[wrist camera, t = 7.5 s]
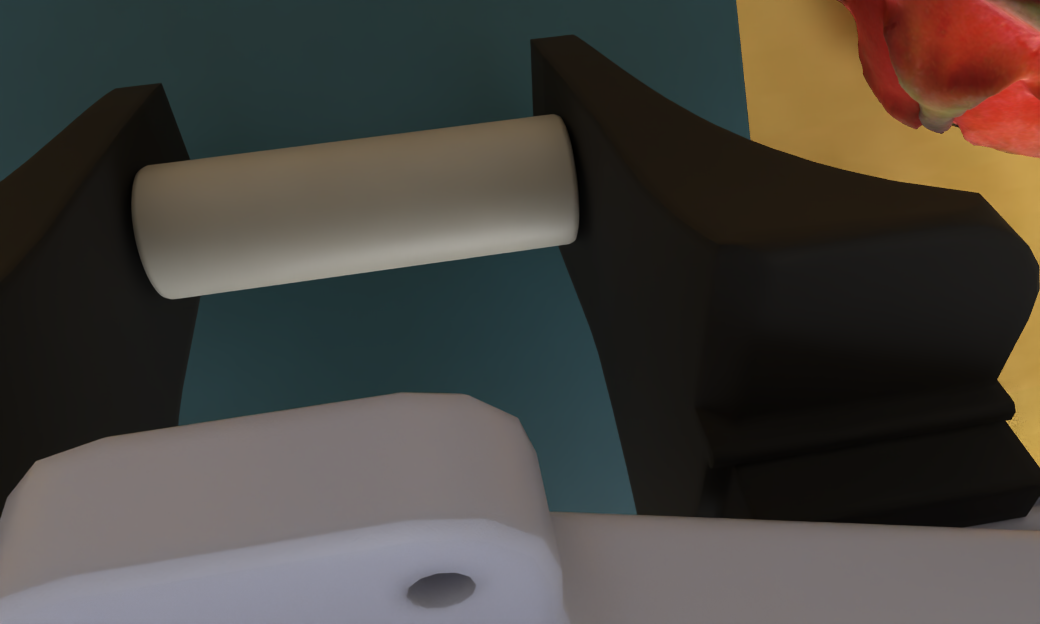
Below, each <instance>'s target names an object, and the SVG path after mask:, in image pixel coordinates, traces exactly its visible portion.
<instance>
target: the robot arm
mask: <svg viewBox="0 0 1040 624" xmlns="http://www.w3.org/2000/svg"><path fill="white" fill-rule="evenodd" d="M530 47H531V73H532V100H533V117H534V116H542V115H550V114H555V115H558V116H560V117H561V118H562V120H563V122H564V124H565V126H566V128H567V131H568V134H569V137H570V141H571V145H572V149H573V154H574V160H575V166H576V173H577V181H578V191H579V228H578V233H577V237H576V240H575V241H574V242H572V243H570V244H566V245H559V246H558V247H559V250H560V252H561V255H562V257H563V260H564V263H565V265H566V268H567V270H568V273H569V276H570V278H571V281H572V283H573V286H574V288H575V291H576V294H577V296H578V299H579V301H580V304H581V306H582V309H583V312H584V314H585V317H586V319H587V322H588V325H589V327H590V330H591V333H592V336H593V339H594V342H595V345H596V348H597V351H598V355H599V359H600V362H601V366H602V370H603V374H604V378H605V382H606V386H607V390H608V394H609V398H610V401H611V405H612V409H613V413H614V418H615V422H616V426H617V430H618V434H619V438H620V442H621V447H622V451H623V455H624V459H625V463H626V467H627V472H628V476H629V481H630V485H631V489H632V494H633V498H634V503H635V507H636V512H637V515H626V514H601V513H575V512H549V508H548V503H547V499H546V494H545V490H544V485H543V480H542V476H541V471H540V467H539V462H538V457H537V453H536V451H535V449H534V447H533V445H532V443H531V442H530V440H529V438H528V436H527V434H526V432H525V430H524V428H523V426H522V424H521V423H520V421H519V419H518V418H517V417H515V416H513V415H511V414H508V413H506V412H504V411H502V410H500V409H498V408H495V407H493V406H491V405H489V404H487V403H484V402H482V401H480V400H478V399H476V398H474V397H471V396H469V395H466V394H456V393H411V392H400V393H394V394H387V395H380V396H374V397H367V398H361V399H354V400H347V401H341V402H334V403H328V404H321V405H314V406H308V407H301V408H295V409H288V410H281V411H275V412H268V413H262V414H255V415H249V416H242V417H235V418H229V419H222V420H216V421H209V422H202V423H196V424H189V425H183V426H178V424H179V413H180V405H181V398H182V391H183V385H184V380H185V375H186V369H187V364H188V359H189V354H190V349H191V344H192V338H193V333H194V328H195V323H196V318H197V313H198V307H199V302H200V297H201V296H194V297H187V298H180V299H169V298H165V297H163V296H161V295H160V294H159V293H158V292H157V291H156V290H155V288H154V287H153V285H152V284H151V282H150V280H149V278H148V276H147V274H146V272H145V269H144V267H143V264H142V262H141V259H140V256H139V252H138V249H137V245H136V241H135V236H134V230H133V223H132V212H131V199H132V187H133V182H134V178H135V176H136V174H137V172H138V171H139V170H140V169H142V168H143V167H145V166H147V165H155V164H163V163H171V162H179V161H186V160H190V157H189V155H188V152H187V149H186V147H185V144H184V141H183V139H182V136H181V133H180V131H179V128H178V125H177V123H176V120H175V117H174V115H173V112H172V109H171V106H170V104H169V101H168V98H167V96H166V93H165V90H164V88H163V85H162V83H156V84H148V85H139V86H131V87H122V88H115V89H113V90H112V91H110V92H109V93H107V94H106V95H104V96H103V97H101V98H100V99H99V100H98V101H96V102H95V103H94V104H93V105H91V106H90V107H89V108H88V109H87V110H85V111H84V112H83V113H82V114H81V115H80V116H78V117H77V118H76V119H75V120H74V121H73V122H71V123H70V124H69V125H68V126H67V127H66V128H65V129H63V130H62V131H61V132H60V133H59V134H58V135H56V136H55V137H54V138H53V139H52V140H51V141H49V142H48V143H47V144H46V145H45V146H44V147H42V148H41V149H40V150H39V151H38V152H37V153H36V154H34V155H33V156H32V157H31V158H30V159H28V160H27V161H26V162H25V163H24V164H22V165H21V166H20V167H19V168H17V169H16V170H15V171H13V172H12V173H11V174H10V175H8V176H7V177H6V178H4V179H3V180H2V181H1V182H0V624H1040V468H1039V466H1038V465H1037V463H1036V462H1035V461H1034V459H1033V458H1032V457H1031V455H1030V454H1029V452H1028V451H1027V450H1026V448H1025V447H1024V446H1023V444H1022V443H1021V442H1020V440H1019V439H1018V437H1017V436H1016V435H1015V433H1014V432H1013V431H1012V429H1011V428H1010V426H1009V425H1008V424H1007V422H1006V420H1011V419H1012V417H1013V416H1014V414H1015V412H1016V410H1015V404H1014V402H1013V400H1012V399H1011V398H1010V396H1009V395H1008V394H1007V392H1006V391H1005V390H1004V388H1003V387H1002V386H1001V384H1000V383H999V382H998V380H997V378H998V377H999V375H1000V373H1001V371H1002V369H1003V367H1004V365H1005V363H1006V361H1007V359H1008V357H1009V355H1010V354H1011V352H1012V350H1013V348H1014V346H1015V344H1016V342H1017V340H1018V338H1019V336H1020V334H1021V333H1022V331H1023V329H1024V327H1025V325H1026V323H1027V321H1028V319H1029V317H1030V314H1031V312H1032V309H1033V306H1034V303H1035V300H1036V298H1037V295H1038V292H1039V289H1040V283H1039V264H1038V263H1037V261H1036V259H1035V257H1034V255H1033V253H1032V251H1031V249H1030V247H1029V246H1028V245H1027V244H1026V243H1025V242H1024V240H1023V239H1022V238H1021V237H1020V236H1019V235H1018V234H1017V233H1016V232H1015V231H1014V230H1013V229H1012V228H1011V226H1010V225H1009V224H1008V223H1007V222H1006V221H1005V220H1004V219H1003V218H1002V217H1001V216H1000V215H999V214H998V212H997V211H996V210H995V209H994V208H993V207H992V206H991V205H990V204H989V203H988V202H987V201H986V200H985V199H984V198H983V197H982V196H981V195H980V194H979V193H975V192H968V191H961V190H953V189H946V188H939V187H932V186H925V185H918V184H911V183H904V182H897V181H892V180H887V179H882V178H878V177H873V176H869V175H864V174H860V173H855V172H851V171H846V170H842V169H838V168H834V167H831V166H827V165H823V164H819V163H816V162H812V161H809V160H806V159H803V158H800V157H797V156H794V155H791V154H788V153H785V152H782V151H778V150H775V149H773V148H770V147H767V146H765V145H762V144H759V143H757V142H754V141H751V140H749V139H747V138H745V137H742V136H740V135H738V134H735V133H733V132H731V131H729V130H726V129H724V128H722V127H720V126H717V125H715V124H713V123H711V122H709V121H707V120H705V119H703V118H701V117H699V116H697V115H696V114H694V113H692V112H690V111H689V110H687V109H685V108H683V107H682V106H680V105H678V104H676V103H674V102H673V101H671V100H669V99H668V98H666V97H664V96H663V95H661V94H660V93H658V92H656V91H655V90H653V89H652V88H650V87H649V86H647V85H645V84H644V83H642V82H641V81H639V80H638V79H637V78H635V77H634V76H632V75H631V74H629V73H628V72H626V71H625V70H624V69H622V68H621V67H619V66H618V65H616V64H615V63H614V62H612V61H611V60H610V59H608V58H607V57H605V56H604V55H603V54H601V53H600V52H599V51H597V50H596V49H594V48H593V47H592V46H590V45H589V44H588V43H586V42H585V41H583V40H582V39H580V38H579V37H577V36H575V35H574V34H571V35H563V36H554V37H546V38H537V39H530Z"/></svg>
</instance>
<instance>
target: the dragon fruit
mask: <svg viewBox="0 0 1040 624" xmlns="http://www.w3.org/2000/svg"><path fill="white" fill-rule="evenodd" d="M837 1H839V2H841V3H842V4H843V5H844V6H845V7H846V8H847V9H848V10H849V11H850V12H851V14H852V15H853V17H854V19H855V21H856V25H857V32H858V50H859V58H860V61H861V64H862V67H863V75H864V77H865V79H866V81H867V83H868V85H869V86H870V88H871V89H872V91H873V93H874V94H875V96H876V97H877V99H878V100H879V102H880V103H881V104H882V105H883V107H884V108H885V110H886V111H887V112H888V113H889V114H890V115H891V116H892V117H893V118H895V119H896V120H898V121H900V122H901V123H903V124H905V125H907V126H909V127H911V128H914V129H918V128H919V127H920V126H921V125H923V126H924V127H926V128H927V129H929V130H931V131H934V132H937V133H940V134H942V133H944V131H947V130H948V129H949V128H950V127H951V125H952V126H955V127H959V128H960V129H961V132H962V134H963V137H964V139H965V140H967V141H968V142H970V143H971V144H973V145H979V146H985V147H991V148H994V149H996V150H999V151H1003V152H1006V153H1011V154H1017V155H1025V156H1030V157H1037V158H1040V0H837Z"/></svg>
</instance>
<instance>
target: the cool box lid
mask: <svg viewBox="0 0 1040 624" xmlns="http://www.w3.org/2000/svg"><path fill="white" fill-rule="evenodd" d="M571 34H574V35H575V36H577V37H579V38H580V39H582V40H583V41H585V42H586V43H588V44H589V45H590V46H592V47H593V48H594V49H596V50H597V51H599V52H600V53H601V54H603V55H604V56H605V57H607V58H608V59H610V60H611V61H612V62H614V63H615V64H616V65H618V66H619V67H621V68H622V69H624V70H625V71H626V72H628V73H629V74H631V75H632V76H634V77H635V78H637V79H638V80H639V81H641V82H642V83H644V84H645V85H647V86H649V87H650V88H652V89H653V90H655V91H656V92H658V93H660V94H661V95H663V96H664V97H666V98H668V99H669V100H671V101H673V102H674V103H676V104H678V105H680V106H682V107H683V108H685V109H687V110H689V111H690V112H692V113H694V114H696V115H697V116H699V117H701V118H703V119H705V120H707V121H709V122H711V123H713V124H715V125H717V126H720V127H722V128H724V129H726V130H729V131H731V132H733V133H735V134H738V135H740V136H742V137H745V138H747V139H749V140H750V131H749V122H748V112H747V102H746V92H745V83H744V73H743V63H742V54H741V44H740V34H739V24H738V15H737V5H736V0H0V182H1V181H2V180H3V179H4V178H6V177H7V176H8V175H10V174H11V173H12V172H13V171H15V170H16V169H17V168H19V167H20V166H21V165H22V164H24V163H25V162H26V161H27V160H28V159H30V158H31V157H32V156H33V155H34V154H36V153H37V152H38V151H39V150H40V149H41V148H42V147H44V146H45V145H46V144H47V143H48V142H49V141H51V140H52V139H53V138H54V137H55V136H56V135H58V134H59V133H60V132H61V131H62V130H63V129H65V128H66V127H67V126H68V125H69V124H70V123H71V122H73V121H74V120H75V119H76V118H77V117H78V116H80V115H81V114H82V113H83V112H84V111H85V110H87V109H88V108H89V107H90V106H91V105H93V104H94V103H95V102H96V101H98V100H99V99H100V98H101V97H103V96H104V95H106V94H107V93H109V92H110V91H112V90H113V89H115V88H122V87H131V86H139V85H148V84H156V83H162V85H163V88H164V90H165V93H166V96H167V98H168V101H169V104H170V106H171V109H172V112H173V115H174V117H175V120H176V123H177V125H178V128H179V131H180V133H181V136H182V139H183V141H184V144H185V147H186V149H187V152H188V155H189V157H190V160H186V161H179V162H171V163H163V164H155V165H147V166H145V167H143V168H142V169H140V170H139V171H138V172H137V174H136V176H135V178H134V182H133V187H132V199H131V212H132V223H133V230H134V236H135V241H136V245H137V249H138V252H139V256H140V259H141V262H142V264H143V267H144V269H145V272H146V274H147V276H148V278H149V280H150V282H151V284H152V285H153V287H154V288H155V290H156V291H157V292H158V293H159V294H160V295H161V296H163V297H165V298H169V299H180V298H187V297H194V296H201V297H200V302H199V307H198V313H197V318H196V323H195V328H194V333H193V338H192V344H191V349H190V354H189V359H188V364H187V369H186V375H185V380H184V385H183V391H182V398H181V405H180V413H179V424H178V426H183V425H189V424H196V423H202V422H209V421H216V420H222V419H229V418H235V417H242V416H249V415H255V414H262V413H268V412H275V411H281V410H288V409H295V408H301V407H308V406H314V405H321V404H328V403H334V402H341V401H347V400H354V399H361V398H367V397H374V396H380V395H387V394H394V393H400V392H411V393H456V394H466V395H469V396H471V397H474V398H476V399H478V400H480V401H482V402H484V403H487V404H489V405H491V406H493V407H495V408H498V409H500V410H502V411H504V412H506V413H508V414H511V415H513V416H515V417H517V418H518V419H519V421H520V423H521V424H522V426H523V428H524V430H525V432H526V434H527V436H528V438H529V440H530V442H531V443H532V445H533V447H534V449H535V451H536V453H537V457H538V462H539V467H540V471H541V476H542V480H543V485H544V490H545V494H546V499H547V503H548V508H549V512H575V513H601V514H626V515H637V512H636V507H635V503H634V498H633V494H632V489H631V485H630V481H629V476H628V472H627V467H626V463H625V459H624V455H623V451H622V447H621V442H620V438H619V434H618V430H617V426H616V422H615V418H614V413H613V409H612V405H611V401H610V398H609V394H608V390H607V386H606V382H605V378H604V374H603V370H602V366H601V362H600V359H599V355H598V351H597V348H596V345H595V342H594V339H593V336H592V333H591V330H590V327H589V325H588V322H587V319H586V317H585V314H584V312H583V309H582V306H581V304H580V301H579V299H578V296H577V294H576V291H575V288H574V286H573V283H572V281H571V278H570V276H569V273H568V270H567V268H566V265H565V263H564V260H563V257H562V255H561V252H560V250H559V247H558V246H559V245H566V244H570V243H572V242H574V241H575V240H576V237H577V233H578V228H579V191H578V181H577V173H576V166H575V160H574V154H573V149H572V145H571V141H570V137H569V134H568V131H567V128H566V126H565V124H564V122H563V120H562V118H561V117H560V116H558V115H555V114H550V115H542V116H534V117H533V100H532V73H531V47H530V39H537V38H546V37H554V36H563V35H571Z"/></svg>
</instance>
